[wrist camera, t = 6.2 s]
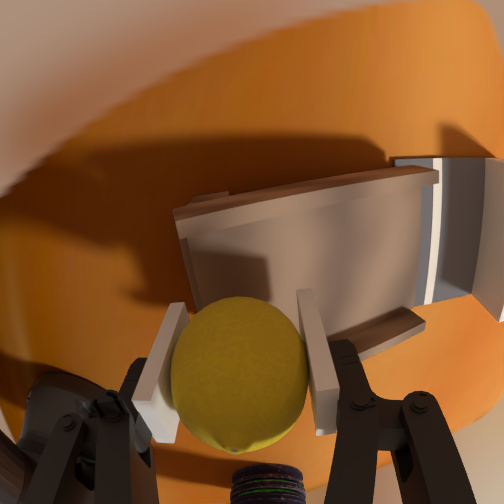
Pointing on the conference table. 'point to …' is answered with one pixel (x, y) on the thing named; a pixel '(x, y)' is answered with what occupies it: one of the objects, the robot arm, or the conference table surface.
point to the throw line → (434, 233)
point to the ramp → (316, 251)
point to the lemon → (239, 375)
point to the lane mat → (451, 226)
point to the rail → (492, 242)
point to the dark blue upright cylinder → (268, 485)
